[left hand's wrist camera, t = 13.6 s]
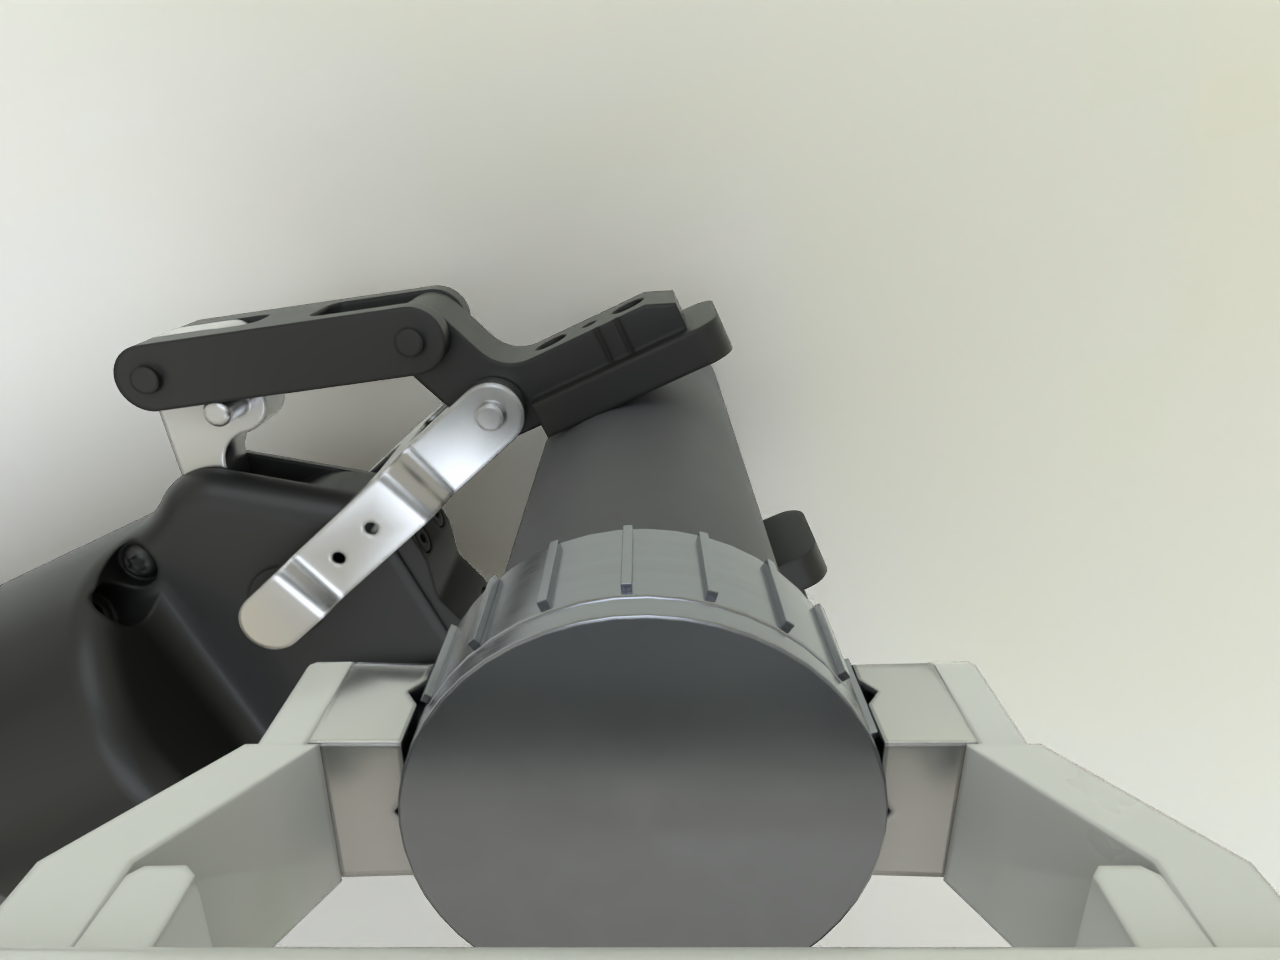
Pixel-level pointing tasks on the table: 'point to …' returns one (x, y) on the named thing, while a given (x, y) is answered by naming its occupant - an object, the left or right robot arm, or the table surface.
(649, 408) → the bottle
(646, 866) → the lid
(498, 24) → the table surface
